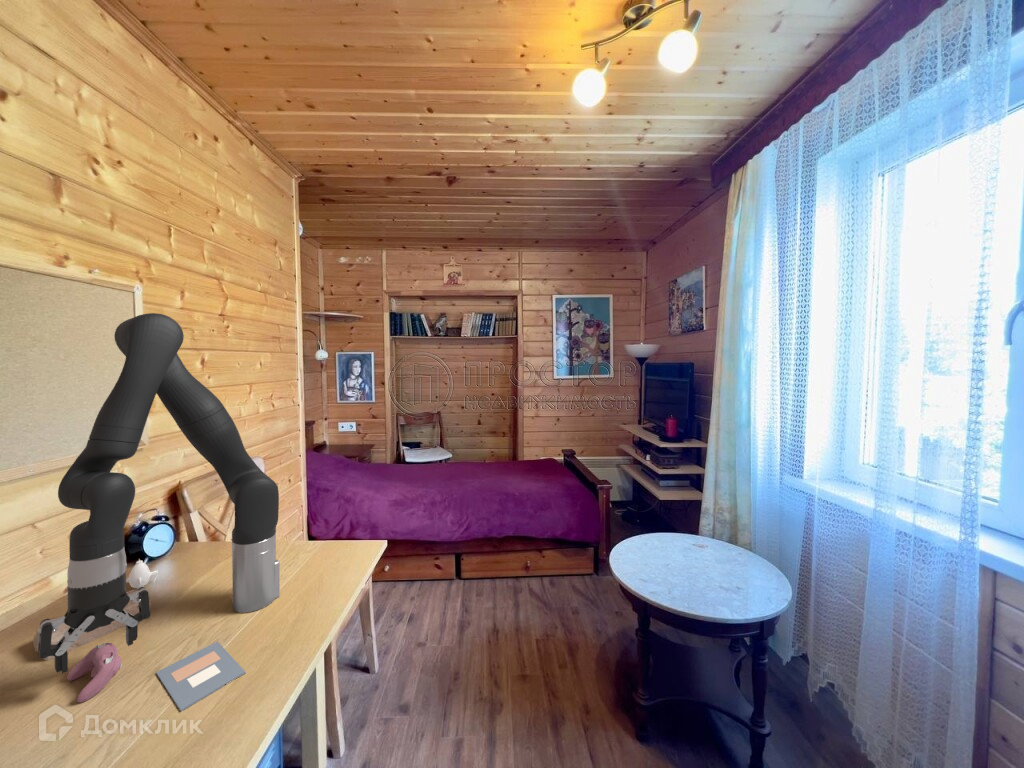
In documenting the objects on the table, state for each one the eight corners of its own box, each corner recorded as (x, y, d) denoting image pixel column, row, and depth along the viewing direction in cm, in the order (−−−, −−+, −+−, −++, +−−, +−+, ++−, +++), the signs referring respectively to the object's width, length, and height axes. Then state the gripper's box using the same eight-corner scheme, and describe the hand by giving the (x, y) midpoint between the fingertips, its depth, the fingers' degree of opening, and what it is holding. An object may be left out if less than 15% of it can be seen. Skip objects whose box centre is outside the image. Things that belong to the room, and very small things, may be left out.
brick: (47, 663, 75) (46, 641, 75) (31, 649, 79) (31, 628, 79) (152, 615, 90) (152, 596, 90) (135, 604, 94) (135, 586, 94)
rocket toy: (139, 581, 103) (139, 553, 103) (159, 581, 103) (159, 553, 103) (119, 593, 98) (118, 563, 97) (139, 593, 98) (139, 564, 97)
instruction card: (217, 642, 82) (217, 641, 82) (245, 673, 74) (245, 671, 74) (156, 673, 73) (156, 671, 73) (180, 711, 66) (180, 709, 66)
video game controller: (108, 699, 69) (131, 656, 72) (74, 705, 66) (99, 660, 68) (95, 674, 75) (116, 635, 77) (63, 679, 71) (86, 637, 73)
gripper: (144, 554, 79) (144, 628, 80) (35, 584, 68) (36, 670, 68) (153, 566, 75) (153, 644, 76) (40, 600, 63) (41, 692, 64)
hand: (98, 656), depth 72 cm, fingers open, 8 cm apart
